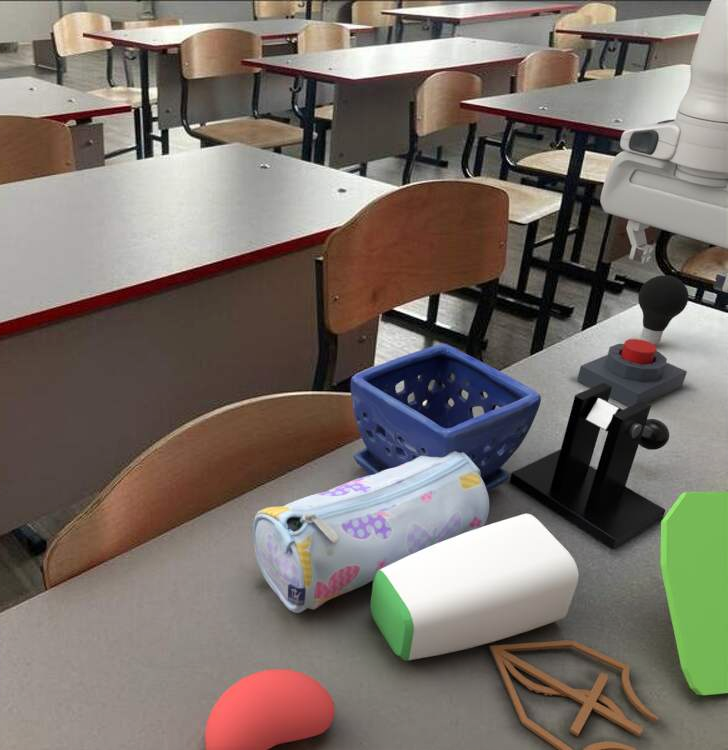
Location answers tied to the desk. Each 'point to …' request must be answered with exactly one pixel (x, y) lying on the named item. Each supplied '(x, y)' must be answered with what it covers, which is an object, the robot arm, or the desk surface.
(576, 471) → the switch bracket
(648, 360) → the button
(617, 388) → the control box
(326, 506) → the pencil case
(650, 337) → the light bulb
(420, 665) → the desk surface
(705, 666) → the green stand with toy
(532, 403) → the flower pot
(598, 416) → the switch lever
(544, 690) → the emblem
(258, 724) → the stress ball
